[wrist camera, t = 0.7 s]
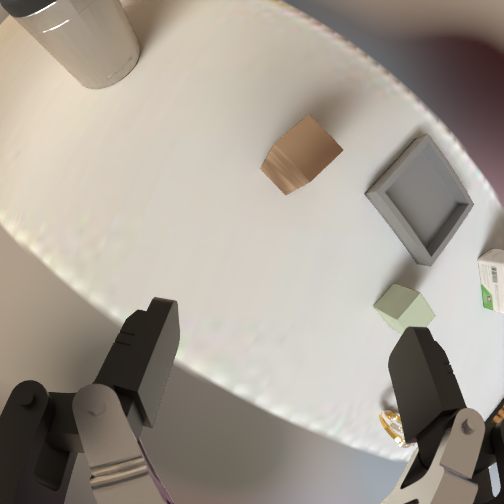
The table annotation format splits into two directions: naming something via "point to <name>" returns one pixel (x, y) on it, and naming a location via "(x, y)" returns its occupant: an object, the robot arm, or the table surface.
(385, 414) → the ring
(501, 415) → the ammunition clip
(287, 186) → the walnut block
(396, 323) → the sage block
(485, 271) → the ink box
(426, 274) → the table surface
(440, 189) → the desk tray
